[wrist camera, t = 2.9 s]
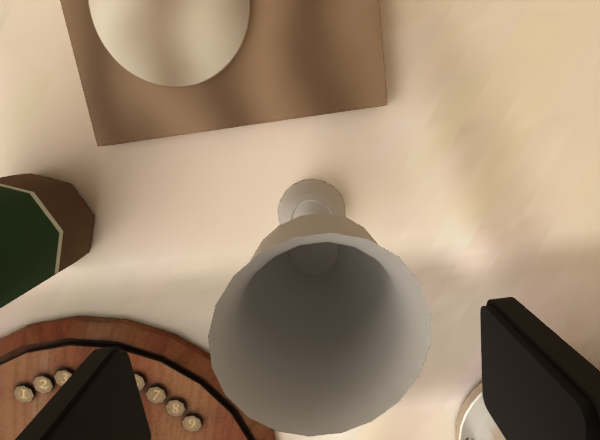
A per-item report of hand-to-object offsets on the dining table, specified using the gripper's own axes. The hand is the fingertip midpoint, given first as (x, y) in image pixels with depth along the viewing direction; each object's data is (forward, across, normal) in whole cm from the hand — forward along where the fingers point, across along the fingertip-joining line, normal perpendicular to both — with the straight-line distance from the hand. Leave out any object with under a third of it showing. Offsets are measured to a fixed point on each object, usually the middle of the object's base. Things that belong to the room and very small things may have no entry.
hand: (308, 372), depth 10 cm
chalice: (+20, -1, +1) cm, 20 cm away
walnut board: (+20, +3, -13) cm, 25 cm away
